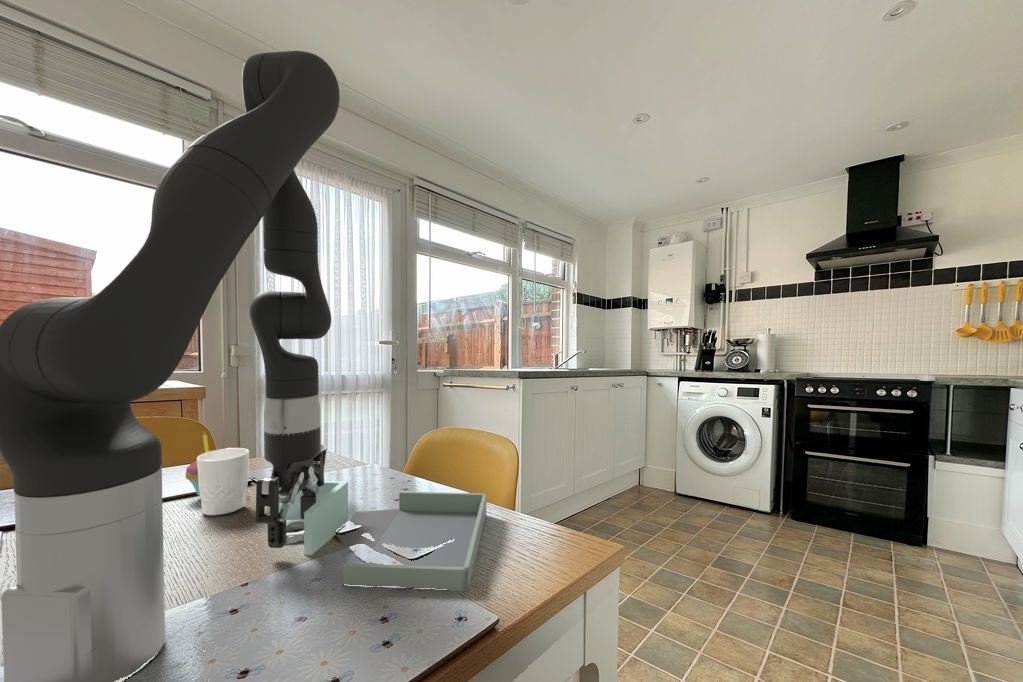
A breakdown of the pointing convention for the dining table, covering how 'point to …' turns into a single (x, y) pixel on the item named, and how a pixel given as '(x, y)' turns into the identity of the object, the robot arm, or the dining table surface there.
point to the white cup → (223, 480)
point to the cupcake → (196, 469)
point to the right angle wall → (318, 516)
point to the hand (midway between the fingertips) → (294, 531)
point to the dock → (421, 541)
